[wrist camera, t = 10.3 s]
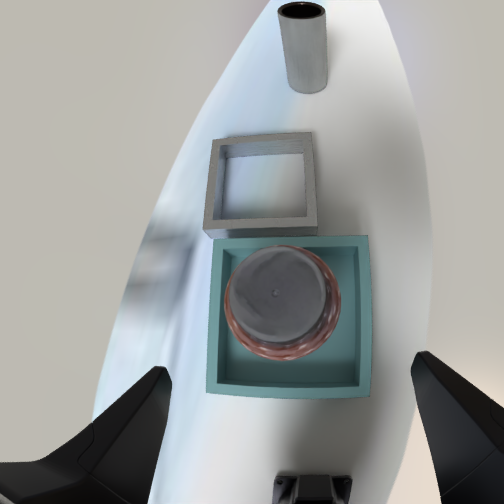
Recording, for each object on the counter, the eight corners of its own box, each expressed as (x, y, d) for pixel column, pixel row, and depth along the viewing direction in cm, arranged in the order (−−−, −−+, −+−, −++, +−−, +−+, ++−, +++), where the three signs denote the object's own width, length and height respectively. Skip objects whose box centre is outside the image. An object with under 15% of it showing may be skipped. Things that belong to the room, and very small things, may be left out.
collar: (317, 235, 24) (317, 226, 22) (210, 238, 26) (202, 229, 24) (311, 146, 27) (310, 132, 25) (218, 152, 28) (212, 139, 26)
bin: (362, 389, 20) (369, 396, 17) (217, 386, 22) (205, 392, 19) (360, 247, 23) (367, 235, 20) (224, 250, 25) (213, 238, 23)
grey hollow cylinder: (332, 91, 28) (332, 16, 19) (293, 97, 29) (283, 21, 19) (320, 68, 30) (316, -1, 20) (284, 73, 30) (272, 4, 21)
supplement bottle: (305, 366, 21) (304, 395, 10) (238, 330, 23) (178, 323, 12) (341, 297, 22) (373, 260, 11) (274, 264, 24) (246, 202, 13)
